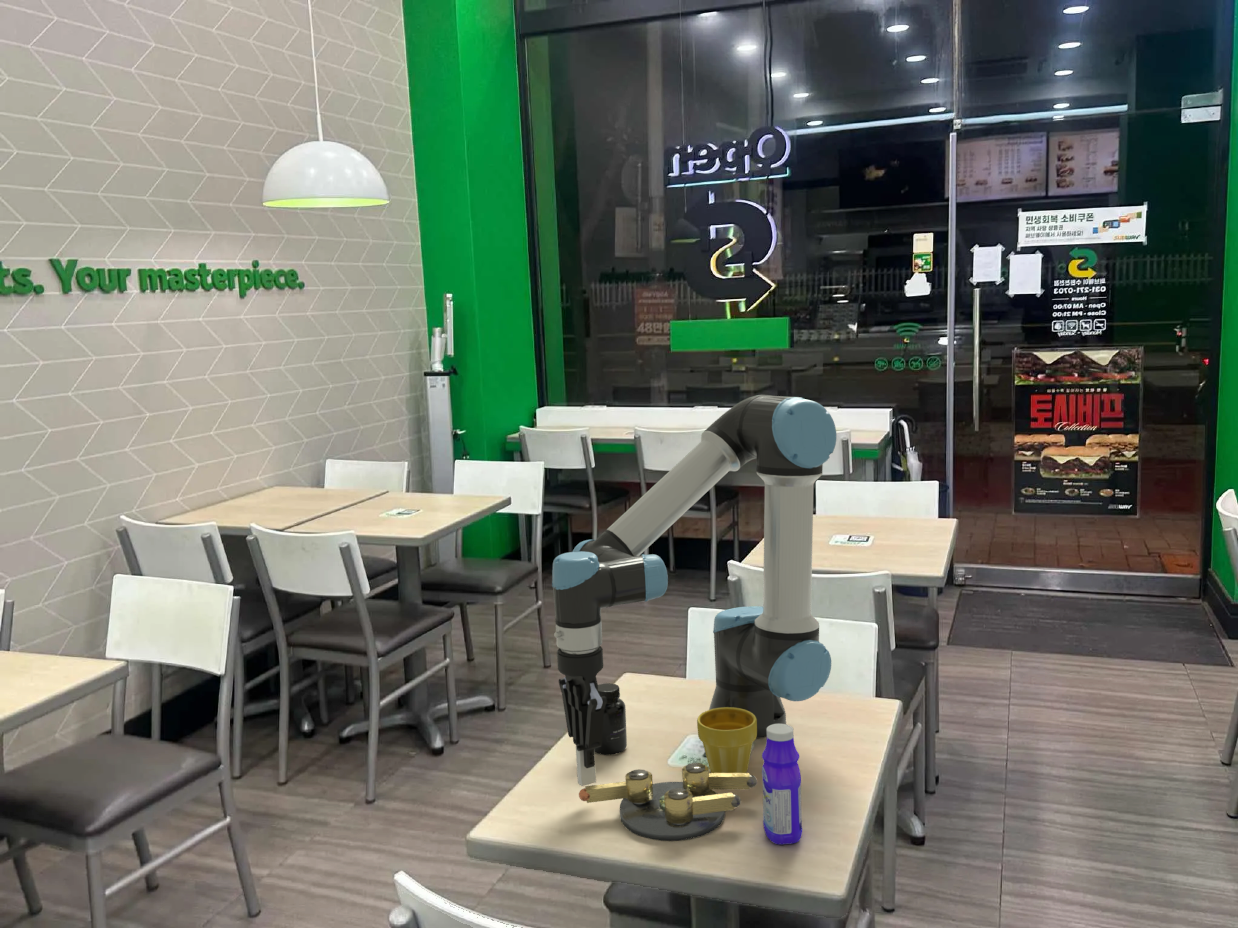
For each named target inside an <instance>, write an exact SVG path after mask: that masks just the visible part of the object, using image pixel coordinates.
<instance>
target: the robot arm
mask: <svg viewBox="0 0 1238 928" xmlns="http://www.w3.org/2000/svg"><path fill="white" fill-rule="evenodd" d="M700 436H701V437H700V439H701V440H700V442H699V443H698V444H697V445H695V447H694V448H692V450H690V452H688V453H687V454H686V455H685V456H684V457H683V458H682V459H680V460H679V461H678V463H676V465H674V466H673V467H672V468H671V469H670V470H669V471H668V472H667V473H666V474H665V475H663V476H662V478H660V479H659V480H658V481H657V482H656V483H655V484H654V485H653V486H652V487H651V488H650V489H649V490H647V491H646V492H645V493H644V494H643V495H642V496H641V497H639V499H638V500H637V501H636V502H635V503H633V504H632V505H631V506H630V507H629V508H628V509H627V510H626V511H625V512H624V513H623V514H622V515H620V516H619V517H618V518H617V519H616V520H615V521H614V522H613V523H612V524H611V525H610V526H609V527H608V528H607V529H606V530H604V531H603V533H601V534H600V535H599V536H598V537H597V538H596V539H586V540H583V541H580V542H579V543H578V544H577V545H576V546H574V549H573V550H572V551H571V552H564V553H561V554H559V555H557V556H556V557H555V558H554V559H553V562H552V570H551V573H552V579H551V587H552V589H553V590H552V593H553V604H554V605H553V606H554V616H555V617H554V619H555V620H554V622H555V632H554V633H553V635H554V638H556V646H557V648H558V649H557V650H556V658H557V659H556V660H557V661H556V662H557V663H556V664H557V671H558V672H559V673H561V674H562V675H564V677H562V678H559V679H558V685H559V689H560V692H561V696H562V697H561V699H562V703H563V710H564V716H565V723H566V729H567V734H568V735H567V736H568V737H569V738H572V740H573V744H574V746H575V757H576V774H577V775H576V777H577V784H578V785H579V786H581V787H585V786H590V785H593V784H595V783H597V776H596V775H597V772H596V770H597V769H596V756H595V754H596V753H595V751H594V748H597V747H601V745H602V732H603V719H604V708H605V706H606V703H607V699H606V697H605V696H602V697H600V695H599V694H598V692H597V690H598V685H599V684H598V680H597V675H598V674H599V673H600V672H601V671H602V670H603V669H604V650H603V647H602V645H603V629H602V628H603V626H602V609H607V608H612V607H618V606H623V605H628V604H634V603H641V602H648V601H651V600H655V599H659V598H661V597H662V596H664V595H665V593H666V591H667V590H668V585H669V584H668V583H669V581H668V580H669V578H668V576H669V575H668V570H667V569H668V568H667V567H666V565H665V562H664V560H663V559H662V558H661V556H659V555H657V554H653V553H652V554H644V552H645V551H646V550H647V549H648V548H649V547H650V546H652V544H654V542H656V541H657V540H658V539H659V538H660V537H661V536H662V535H663V534H664V533H665V532H666V531H668V529H669V528H670V527H671V526H673V524H674V523H676V522H677V521H678V520H679V519H680V518H681V517H682V516H683V515H684V514H685V513H686V512H687V511H689V509H690V508H692V507H693V506H694V504H696V503H697V502H698V501H699V500H700V499H701V498H702V497H704V495H705V494H706V493H707V492H709V491H710V490H711V489H712V488H713V487H714V486H715V485H716V484H717V483H719V481H720V480H721V479H722V478H724V477H725V476H726V475H727V474H728V472H737V471H739V470H740V469H741V468H742V467H743V466H744V465H745V464H747V463H749V462H750V461H752V460H756V471H755V472H756V474H757V476H758V477H759V478H761V480H762V481H763V482H764V483H763V484H764V511H763V512H764V515H763V518H764V521H763V524H764V525H763V578H762V579H763V581H762V585H763V587H762V589H763V591H762V595H763V596H762V598H763V599H762V606H759V605H758V606H757V605H754V606H753V605H752V606H739V607H733V608H729V609H724V610H721V611H719V612H718V613H716V615H715V616H714V619H713V630H712V633H713V639H714V640H713V641H714V642H713V643H714V645H713V646H714V664H715V667H714V668H715V669H714V670H715V671H714V672H715V688H714V691H713V695H712V698H711V701H710V705H709V708H708V710H711V709H715V708H723V707H732V708H740V709H744V710H747V711H749V712H751V713H753V714H754V715H755V717H756V719H757V737H756V739H760V738H767V727H768V726H770V725H772V724H787V713H786V710H785V707H784V704H783V702H782V701H783V700H782V699H785V700H786V701H790V702H803V701H806V700H808V699H811V698H812V697H815V696H816V695H817V694H818V693H819V691H820V689H822V688H823V687H824V686H825V685H826V683H827V681H828V680H829V677H830V674H831V670H832V657H831V654H830V651H829V650H828V649H827V648H826V646H825V645H824V644H823V643H821V642H820V621H818V620H817V618H815V617H814V616H813V615H812V588H813V587H812V580H813V579H812V576H813V573H812V572H813V536H814V535H813V532H814V531H813V526H814V523H813V522H814V484H815V482H816V481H817V480H818V479H819V478H821V476H822V475H823V467H824V464H825V463H826V462H827V461H828V460H830V455H831V454H833V453H834V450H835V447H836V444H837V429H836V424H835V421H834V419H833V417H832V415H831V414H830V412H829V411H828V410H827V409H826V408H825V407H824V406H823V405H822V404H821V403H819V402H817V401H814V400H810V399H805V398H804V397H799V396H782V395H780V396H779V395H778V396H777V395H771V394H758V395H754V396H750V397H747V398H745V399H743V400H741V401H739V402H738V403H736V404H735V405H733V406H732V407H730V408H729V409H728V410H727V411H725V412H724V413H723V414H722V415H721V416H719V417H718V418H717V419H716V420H715V421H714V422H712V424H710V425H709V426H708V427H707V428H706V429H705V430H704V431H703V432H702V433H701V435H700Z"/></svg>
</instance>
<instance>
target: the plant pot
mask: <svg viewBox="0 0 1238 928" xmlns="http://www.w3.org/2000/svg"><path fill="white" fill-rule="evenodd" d="M696 719H697V720H696V724H697V725H696V728H697V735H698V739H699V740H700V741H701V743H702V745H703V748H704V753H705V757H706V760H707V764H708V768H709V773H748V769H749V766H750V765H749V764H750V760H751V759H750V758H751V753H752V749H753V743H754V742H755V740H756V739H757V738H756V737H757V719H756V717H755V715H754V714H753V713H751V712H749V711H747V710H744V709H740V708H732V707H723V708H715V709H711V710H709V709H707V710H705V711H704V712H701V713H700V714H699V715H698V716H697V718H696Z"/></svg>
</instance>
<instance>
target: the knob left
mask: <svg viewBox="0 0 1238 928" xmlns="http://www.w3.org/2000/svg"><path fill="white" fill-rule="evenodd" d="M681 771H682V775H681V776H682V782H683V789H686V790H688V791H690V792H691V793H692V796H701V795H705V794H707V793H708V792H709V791H710V789H712V790H750V789H751V788H755V787H756V786H757V784H758V779H757V777H756V776H755V775H753V774H750V772H746V773H711V772H710V769H709V766H707V765H706V764H703V763H701V762H691V763H688V764H686V765H684V766H682V769H681Z"/></svg>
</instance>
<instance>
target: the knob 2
mask: <svg viewBox="0 0 1238 928" xmlns="http://www.w3.org/2000/svg"><path fill="white" fill-rule="evenodd" d="M664 801H665V819H666V820H667V821H668V822H671V823H675V824H683V823H687V822H689V821H691V820H692V819H693V815H697V814H705V813H713V812H720V811H726V812H727V811H735V808H738V807H739V806H740V805H741V803H742V800H741V797H740V796H739V795H738V794H736V793H735V794H733V792H726V793H725V792H724V793H718V794H716V795H708V796H700V797H692V793H691V792H690V791H688V790H686V789H682V788H675V789H671V790H669V791H667V792H666V793H665V794H664Z"/></svg>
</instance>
